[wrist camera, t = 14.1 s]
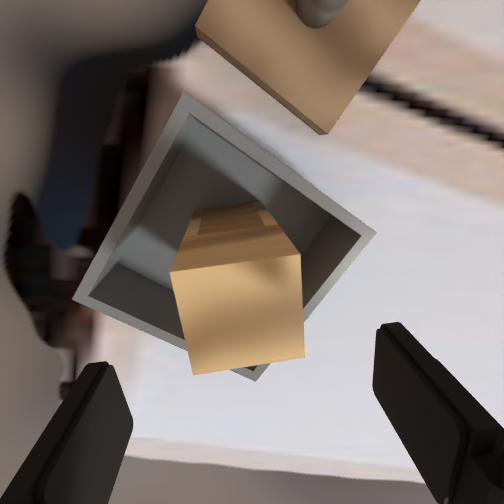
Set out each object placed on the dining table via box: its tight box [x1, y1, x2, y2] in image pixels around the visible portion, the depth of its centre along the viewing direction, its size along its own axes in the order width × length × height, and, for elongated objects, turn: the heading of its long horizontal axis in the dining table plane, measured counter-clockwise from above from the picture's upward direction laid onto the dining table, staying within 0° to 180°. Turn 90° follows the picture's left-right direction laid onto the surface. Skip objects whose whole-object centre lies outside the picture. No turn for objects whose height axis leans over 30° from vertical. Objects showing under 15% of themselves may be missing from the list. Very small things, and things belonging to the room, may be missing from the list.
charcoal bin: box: [72, 91, 377, 381], centre depth 23 cm, size 16×16×7 cm
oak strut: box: [170, 202, 305, 375], centre depth 19 cm, size 6×6×13 cm
